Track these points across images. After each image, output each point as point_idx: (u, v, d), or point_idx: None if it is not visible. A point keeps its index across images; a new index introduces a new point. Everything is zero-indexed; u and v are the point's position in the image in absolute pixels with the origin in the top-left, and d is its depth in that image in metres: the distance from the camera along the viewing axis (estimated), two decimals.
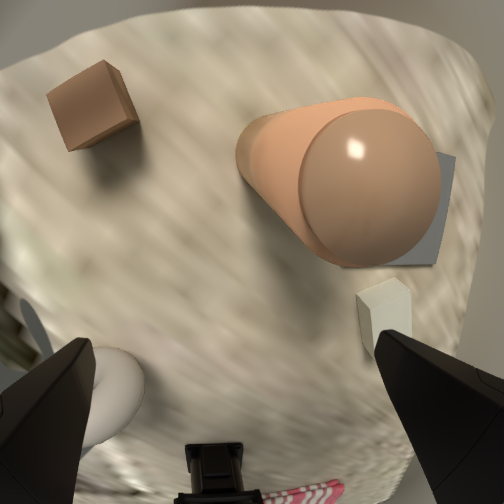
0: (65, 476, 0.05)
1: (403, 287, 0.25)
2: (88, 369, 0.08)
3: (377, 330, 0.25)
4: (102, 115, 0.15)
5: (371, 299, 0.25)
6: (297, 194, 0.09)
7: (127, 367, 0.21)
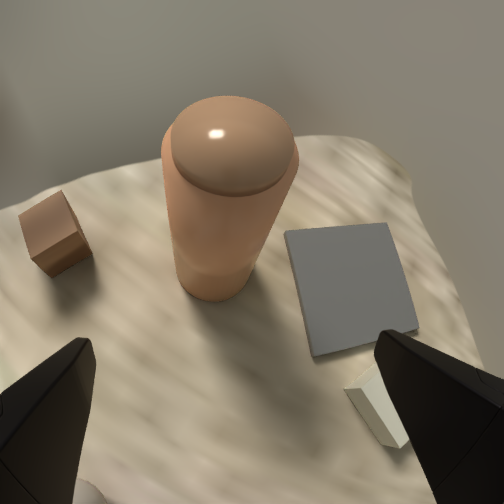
0: (65, 476, 0.05)
1: None
2: (88, 369, 0.08)
3: (382, 410, 0.19)
4: (58, 229, 0.19)
5: (360, 382, 0.21)
6: (172, 160, 0.12)
7: (82, 484, 0.13)
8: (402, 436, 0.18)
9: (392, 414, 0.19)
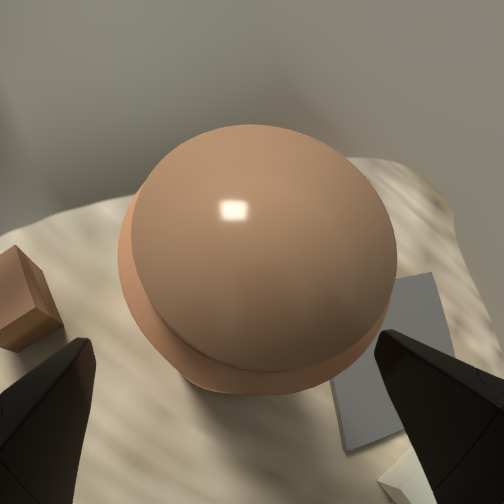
0: (65, 476, 0.05)
1: None
2: (88, 369, 0.08)
3: None
4: (12, 303, 0.13)
5: (398, 477, 0.14)
6: None
7: None
8: None
9: None
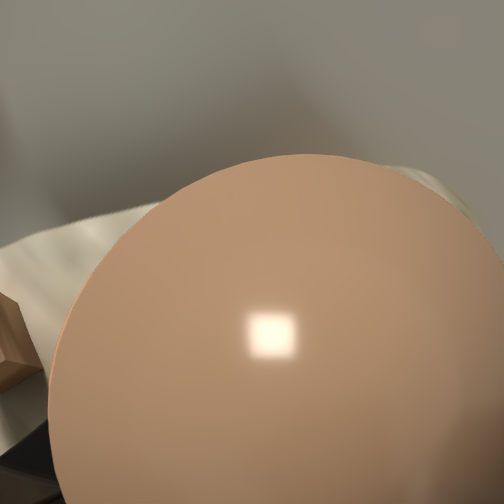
0: None
1: None
2: None
3: None
4: None
5: None
6: None
7: None
8: None
9: None
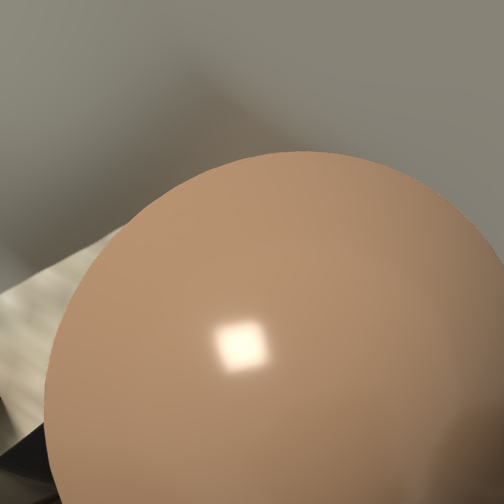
0: None
1: None
2: None
3: None
4: None
5: None
6: None
7: None
8: None
9: None
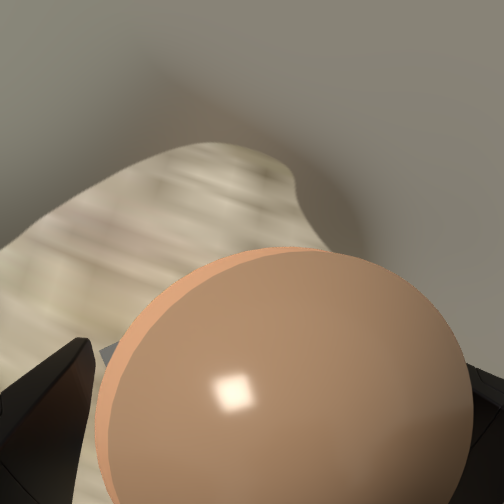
0: (64, 476, 0.05)
1: None
2: (87, 369, 0.08)
3: None
4: None
5: None
6: None
7: None
8: None
9: None
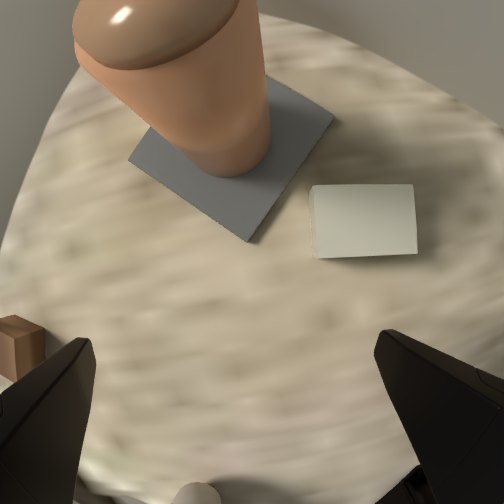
0: (65, 476, 0.05)
1: (311, 191, 0.18)
2: (88, 369, 0.08)
3: (360, 248, 0.17)
4: (7, 349, 0.18)
5: (314, 245, 0.18)
6: (95, 61, 0.07)
7: (180, 495, 0.17)
8: (407, 242, 0.17)
9: (373, 239, 0.17)
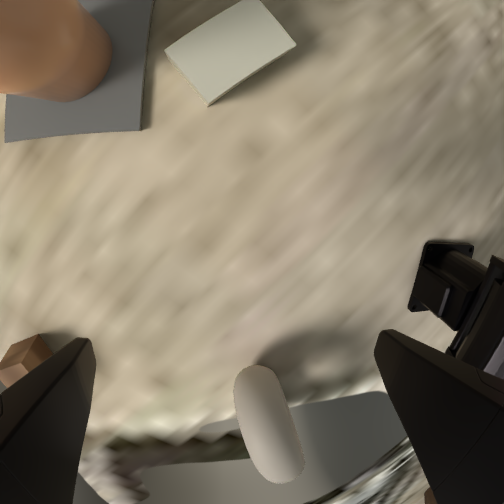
0: (65, 476, 0.05)
1: (168, 56, 0.15)
2: (88, 369, 0.08)
3: (240, 70, 0.15)
4: None
5: (200, 95, 0.16)
6: None
7: (236, 390, 0.21)
8: (280, 41, 0.15)
9: (247, 56, 0.15)
